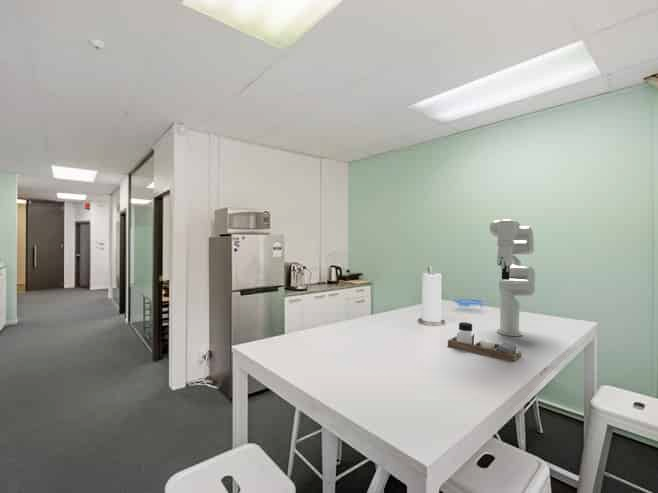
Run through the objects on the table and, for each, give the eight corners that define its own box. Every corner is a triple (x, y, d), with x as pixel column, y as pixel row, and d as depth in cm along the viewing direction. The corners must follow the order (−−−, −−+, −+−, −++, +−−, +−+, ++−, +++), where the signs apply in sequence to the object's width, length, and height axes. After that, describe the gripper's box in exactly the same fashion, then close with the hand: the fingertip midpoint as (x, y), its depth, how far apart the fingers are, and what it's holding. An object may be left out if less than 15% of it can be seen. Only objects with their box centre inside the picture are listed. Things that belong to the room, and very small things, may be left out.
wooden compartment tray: (457, 341, 166) (457, 335, 166) (521, 355, 145) (521, 349, 145) (447, 346, 158) (448, 340, 158) (514, 361, 137) (514, 355, 137)
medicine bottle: (472, 350, 152) (472, 325, 152) (456, 347, 156) (456, 323, 156) (473, 346, 158) (474, 322, 158) (458, 343, 162) (458, 320, 162)
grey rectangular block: (504, 352, 149) (504, 341, 149) (516, 355, 145) (516, 344, 145) (497, 357, 143) (497, 346, 142) (510, 360, 139) (510, 348, 139)
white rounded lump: (483, 348, 154) (483, 338, 154) (496, 351, 150) (496, 341, 150) (478, 351, 150) (478, 341, 150) (491, 354, 146) (491, 344, 146)
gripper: (502, 243, 170) (502, 277, 170) (492, 243, 159) (492, 280, 159) (518, 243, 164) (517, 279, 165) (509, 243, 154) (509, 281, 154)
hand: (505, 279), depth 162 cm, fingers closed
